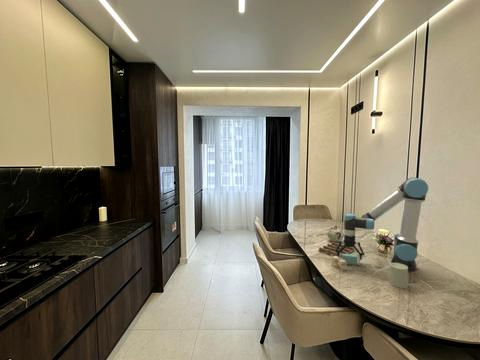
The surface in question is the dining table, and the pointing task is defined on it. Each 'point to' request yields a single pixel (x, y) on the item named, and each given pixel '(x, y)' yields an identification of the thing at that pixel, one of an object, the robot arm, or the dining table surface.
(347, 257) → the teal bar
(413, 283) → the dining table surface
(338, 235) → the sugar bowl
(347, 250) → the slot rack
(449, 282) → the dining table surface
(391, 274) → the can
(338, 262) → the maple bar
